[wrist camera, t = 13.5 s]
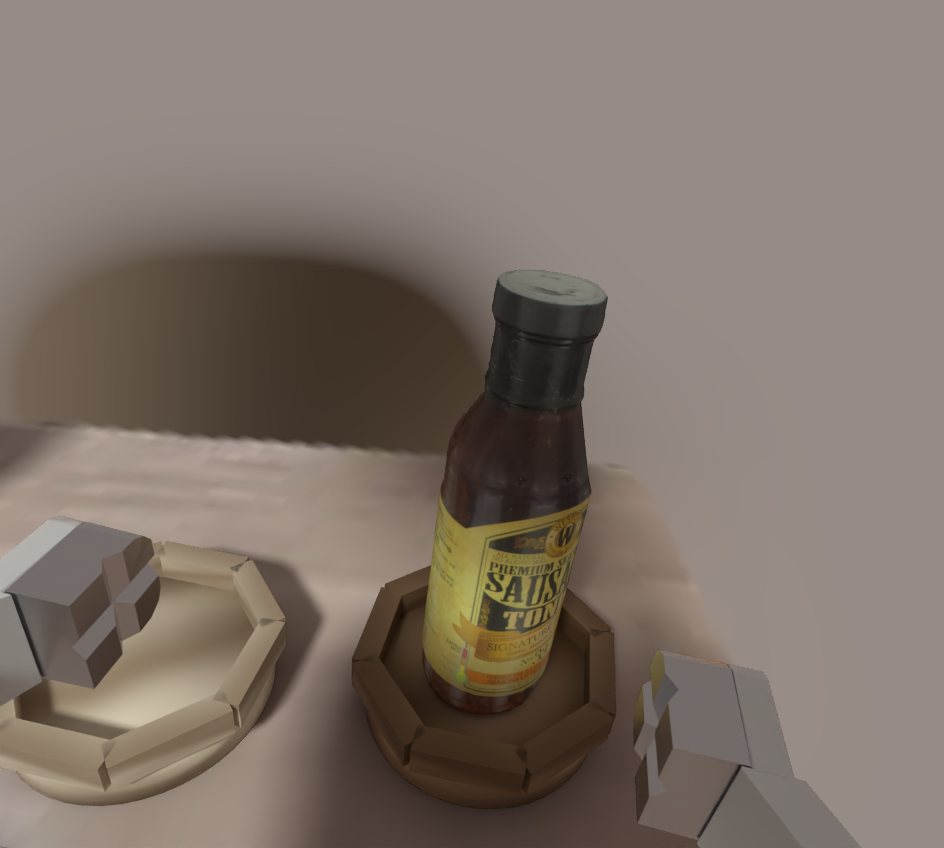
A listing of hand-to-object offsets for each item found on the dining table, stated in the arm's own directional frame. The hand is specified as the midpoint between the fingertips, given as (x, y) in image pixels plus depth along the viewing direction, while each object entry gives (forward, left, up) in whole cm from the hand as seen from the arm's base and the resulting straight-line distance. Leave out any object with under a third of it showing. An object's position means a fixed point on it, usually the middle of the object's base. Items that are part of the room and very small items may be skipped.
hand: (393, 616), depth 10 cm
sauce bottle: (-10, +11, -19) cm, 24 cm away
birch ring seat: (-19, -2, -21) cm, 28 cm away
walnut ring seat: (-10, +12, -21) cm, 26 cm away
